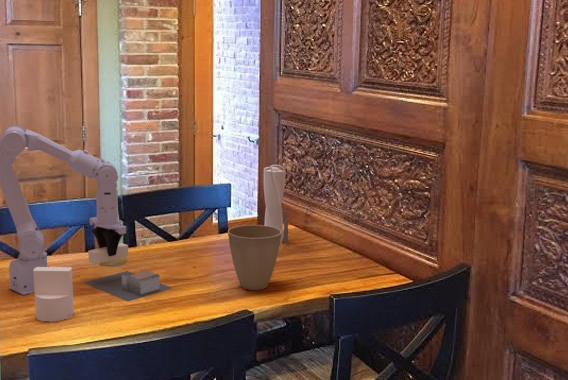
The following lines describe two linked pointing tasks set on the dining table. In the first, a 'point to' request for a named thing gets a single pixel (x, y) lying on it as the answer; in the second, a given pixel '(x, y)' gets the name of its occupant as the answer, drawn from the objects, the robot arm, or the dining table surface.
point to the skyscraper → (275, 200)
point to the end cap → (141, 283)
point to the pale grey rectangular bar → (102, 254)
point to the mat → (119, 286)
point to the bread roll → (115, 262)
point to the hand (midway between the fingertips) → (108, 254)
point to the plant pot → (254, 254)
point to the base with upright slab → (53, 293)
